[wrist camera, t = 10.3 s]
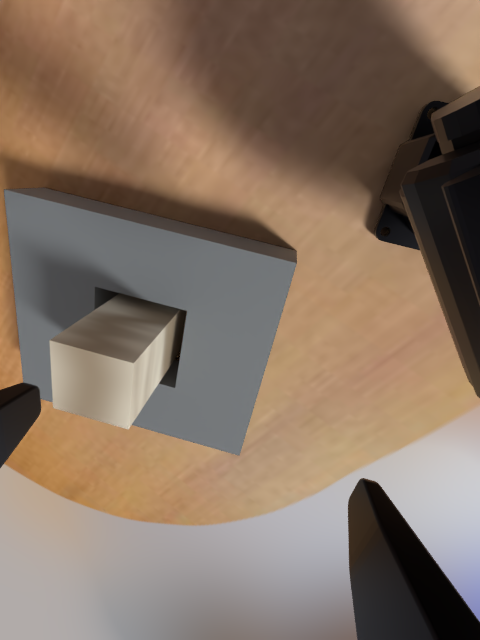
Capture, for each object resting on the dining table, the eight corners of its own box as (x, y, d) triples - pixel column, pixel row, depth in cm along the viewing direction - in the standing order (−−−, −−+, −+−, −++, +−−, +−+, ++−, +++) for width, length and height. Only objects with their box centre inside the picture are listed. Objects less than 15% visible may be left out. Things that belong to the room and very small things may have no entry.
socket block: (296, 250, 19) (296, 263, 16) (245, 425, 25) (239, 455, 22) (43, 187, 20) (3, 189, 17) (52, 371, 26) (24, 394, 23)
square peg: (187, 300, 21) (133, 363, 14) (180, 350, 23) (128, 429, 16) (131, 285, 22) (49, 340, 14) (127, 336, 23) (53, 407, 16)
